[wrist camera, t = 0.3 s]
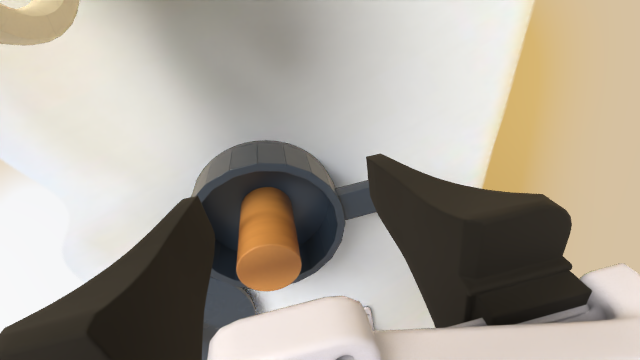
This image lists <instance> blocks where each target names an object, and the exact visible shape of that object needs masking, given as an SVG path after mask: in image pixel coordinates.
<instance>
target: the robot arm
mask: <svg viewBox="0 0 640 360" xmlns="http://www.w3.org/2000/svg"><path fill="white" fill-rule="evenodd" d="M366 159H367V169H368V180H369V191H370V197H371V200H372V202H373V204H374V207H375V209H376V211H377V213H378V215H379V217H380V218H381V220H382V222H383V223H384V225H385V227H386V228H387V230H388V231H389V233H390V235H391V236H392V238H393V239H394V241H395V243H396V244H397V246H398V248H399V249H400V251H401V252H402V254H403V256H404V258H405V260H406V262H407V264H408V266H409V268H410V270H411V272H412V274H413V276H414V279H415V281H416V283H417V285H418V287H419V290H420V292H421V294H422V296H423V299H424V301H425V303H426V306H427V308H428V310H429V313H430V315H431V317H432V320H433V322H434V324H435V327H436V328H429V329H407V330H385V331H374V327H373V321H372V314H371V310H370V308H369V307H364V308H363V306H362V304H361V303H360V302H359V301H356V300H353V299H351V298H348V297H345V296H334V297H323V298H320V299H316V300H312V301H308V302H304V303H300V304H296V305H293V306H289V307H285V308H281V309H277V310H273V311H269V312H266V313H262V314H258V315H254V316H250V317H246V318H242V319H239V320H237V321H234V322H232V323H230V324H228V325H226V326H224V327H222V328H220V329H219V330H218V331H217V333H216V334H215V335H214V336H213V338H212V339H211V340H210V343H209V351H208V358H207V360H640V275H639V274H638V273H636V272H635V271H634V270H632V269H631V268H630V267H628V266H627V265H626V264H616V265H612V266H609V267H605V268H601V269H598V270H594V271H590V272H588V273H586V274H584V275H583V276H582V277H580V279H578V278H577V277H576V276H575V275H574V274H573V273H571V272H570V271H569V270H571V269H572V264H571V263H570V262H569V261H567V260H566V259H565V258H564V257H563V253H564V250H565V247H566V244H567V241H568V238H569V235H570V231H571V226H572V223H571V217H570V215H569V214H568V212H567V211H566V210H565V209H563V208H562V207H561V206H559V205H558V204H556V203H555V202H553V201H552V200H550V199H549V198H548V197H546V196H545V195H543V194H528V193H510V192H501V191H492V190H485V189H479V188H474V187H469V186H464V185H459V184H455V183H452V182H448V181H445V180H441V179H438V178H435V177H432V176H430V175H427V174H424V173H422V172H419V171H417V170H414V169H412V168H410V167H408V166H406V165H403V164H401V163H399V162H397V161H395V160H393V159H391V158H389V157H387V156H384V155H382V154H377V155H373V156H368V157H366ZM214 248H215V233H214V230H213V228H212V226H211V224H210V221H209V219H208V217H207V215H206V213H205V210H204V208H203V206H202V204H201V201H200V199H199V197H198V196H195V197H190V198H186V199H183V200H182V201H180V202H179V203H178V204H177V205H176V206H175V207H174V208H173V209H172V210H171V211H170V212H169V213H168V214H167V215H166V216H165V217H164V218H163V219H162V220H161V221H160V222H159V223H158V224H157V225H156V226H155V227H154V228H153V229H152V230H151V231H150V232H149V233H148V234H147V235H146V236H145V237H144V238H143V239H142V240H141V241H140V242H139V243H138V244H136V245H135V246H134V247H133V248H132V249H131V250H130V251H128V252H127V253H126V254H125V255H124V256H122V257H121V258H120V259H119V260H117V261H116V262H115V263H113V264H112V265H111V266H110V267H108V268H107V269H105V270H104V271H102V272H101V273H100V274H98V275H97V276H95V277H94V278H92V279H91V280H89V281H88V282H86V283H85V284H84V285H82V286H80V287H79V288H77V289H76V290H74V291H72V292H71V293H69V294H67V295H66V296H64V297H62V298H61V299H59V300H57V301H56V302H54V303H52V304H50V305H48V306H47V307H45V308H43V309H41V310H39V311H37V312H35V313H33V314H31V315H29V316H28V317H26V318H24V319H22V320H20V321H18V322H16V323H14V324H12V325H10V326H8V327H6V328H4V330H3V331H2V332H1V333H0V360H202V339H203V322H204V310H205V302H206V296H207V291H208V286H209V280H210V275H211V270H212V264H213V258H214Z"/></svg>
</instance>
